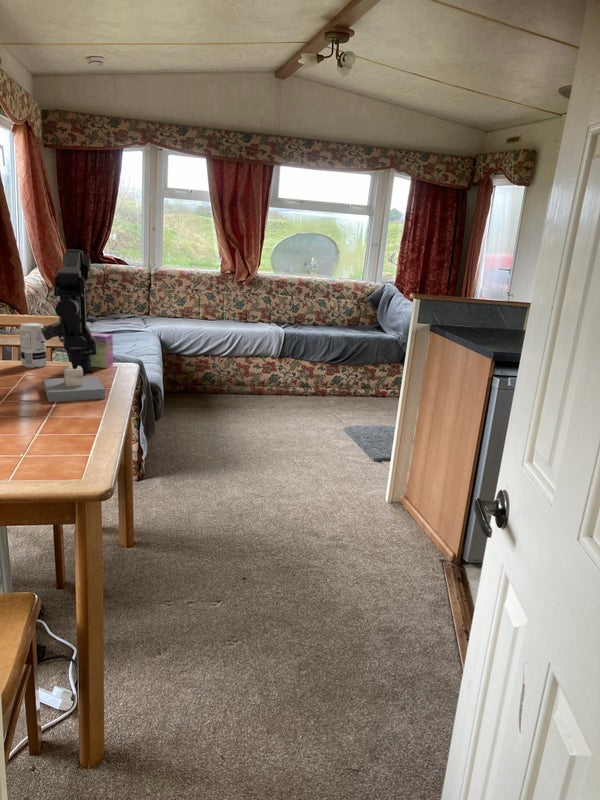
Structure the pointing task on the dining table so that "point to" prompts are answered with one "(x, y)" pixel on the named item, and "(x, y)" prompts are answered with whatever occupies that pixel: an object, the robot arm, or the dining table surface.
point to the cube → (73, 376)
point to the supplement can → (32, 345)
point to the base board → (73, 390)
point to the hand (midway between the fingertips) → (72, 365)
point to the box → (102, 350)
